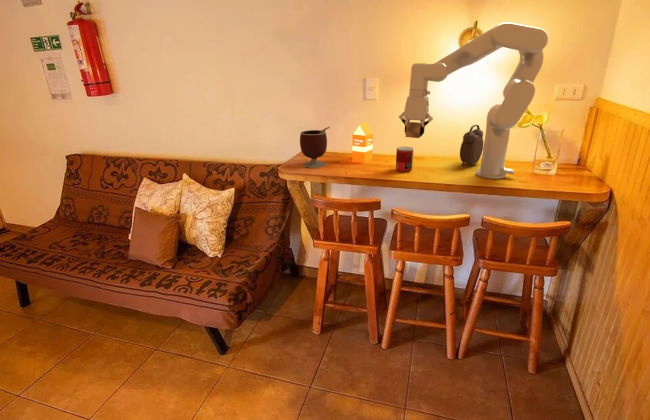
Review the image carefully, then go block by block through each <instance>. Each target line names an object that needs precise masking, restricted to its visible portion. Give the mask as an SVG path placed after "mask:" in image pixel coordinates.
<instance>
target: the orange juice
mask: <svg viewBox="0 0 650 420" xmlns="http://www.w3.org/2000/svg"><path fill="white" fill-rule="evenodd" d="M373 142H374V132H373V130H372V129H371V126H370V125H369V122H367V121H366V122H363V123H359V124H358V126H357V128H356V129H355V130H354V132H353V133H352V144H351V145H352V147H351V148H352V149H351V150H352V151H351V152H352V153H351V154H352V157H351V158H352V160H351V162H354V163H360V164H366V163H368V162H370V161H372V160H373V147H374V145H373Z"/></svg>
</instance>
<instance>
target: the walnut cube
mask: <svg viewBox="0 0 650 420" xmlns="http://www.w3.org/2000/svg"><path fill="white" fill-rule="evenodd" d="M420 128H421V122H420V121H418V122H417V121H410V122H409V123H407V126H406V134H405V138H413V139H420V138H421V137H422V136H420Z"/></svg>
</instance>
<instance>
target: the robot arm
mask: <svg viewBox="0 0 650 420" xmlns="http://www.w3.org/2000/svg"><path fill="white" fill-rule="evenodd" d="M548 42H549V34H548V32H547V31H546V30H545V29H543V28H540V27H535V26H530V25H523V24H520V23H519V24H518V23H514V22H502V23H499V24H498V25H497V24H496V26H493V27H492V28H490V29H488V30H487V31H485V32H484V33H482V34H481V35H478V36H477V37H474V38H473V39H472V40H470V41H469V42H467V43H465V44H464V45H462V46H460V47H459V48H458V49H456V50H455V51H453V52H451V53H449V54H448V55H446V56H445V57H443V58H441V59H439V60H438V61H436V62H433V63H424V62H423V63H421V62H420V63H418V62H417V63H413V64H412V65H411V69H410V80H409V81H410V82H409V89H408V90H409V93H408V96H407V97H406V101H405V105H404V110H403V112H402V113H400V115H398V119H400V120H401V121H400V122H402V123H403V125H404V135H406V126H407V123H409V122H411V121H419V123H421V128H420V136H421V137H423V135H424V134H425V127H426V126H427V125H428V124H429V123H430V122H432V121H433V120H434V118H433V116H432V115H431V114H430V113H429V111H430V110H429V109H430V107H429V106H430V104H429V102H430V101H429V97H428V95H431V91H429V89H428V84H429V82H435V83H436V82H437V83H440V82H442V81H444V80H445V79H446V78H447V77H448V76H449V75H451V74H452V73H454V72H456V71H458V70H459V69H461V68H465V67H467V66H472V65H473V64H475V63H477V62H479V61H481V60H482V59H484V58H486V57H488V56H489V55H491V54H493V53H495V52H497V51H498V50H500V49H502V48H506V49H511V50H515V51H518V53H519V62H518V64H517V66H516V68H515V70H514V71H513V74H512V75H511V76H510V78H509V80H508V82H507V83H506V84H505V86H504V88H503V90H502V95H503V98H504V99H503V101H502V102H500V103H497V104H495V105H493V106H492V107H491V108H490V109H489V110H488V112H487V116H486V125H485V126H486V128H485V136H484V140H483V150H482V154H481V163H480V169H477V170H476V172H475V175H476V176H478V177H480V178H483V179H484V178H485V179H489V180H490V179H492V180H493V179H494V180H499V179H500V180H501V179H504V178H506V176H507V174H508V175H514V173H515V169H512V168H507V167H506V165H505V162H506V155H507V151H508V150H507V149H508V144H509V139H510V132H511V129H513V128H514V127H515V126H516V125H517V124H518V123H519V121H520V120H521V119H522V117H523V115H524V114H525V112H526V110H527V109H528V108H529V106H530V104H531V102H533V101H532V100H533V99H534V96H535V93H536V87H535V85H534V81H535V80H536V78H537V76H538V74H539V72H540V71H541V69H542V67H543V64H544V58H545V57H544V49H545V47H546V46H547V45H548Z"/></svg>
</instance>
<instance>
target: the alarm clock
mask: <svg viewBox="0 0 650 420" xmlns="http://www.w3.org/2000/svg"><path fill="white" fill-rule="evenodd" d="M475 127H476V129H474V128H475ZM483 136H484V132H483V130H482V129H481V128H480V125H479V124H473V125H471V126H470V128H469V131H466V133H464V134H463V136H462V142H461V145H460V149H459V157H460V158H459V159H460V161H461V162H462V163H461V167H463V166H464V163H465V164H469V167H471V166H472V165H475V164H478V163H479V161H480V158H482V154H483V148H484V138H483Z"/></svg>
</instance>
